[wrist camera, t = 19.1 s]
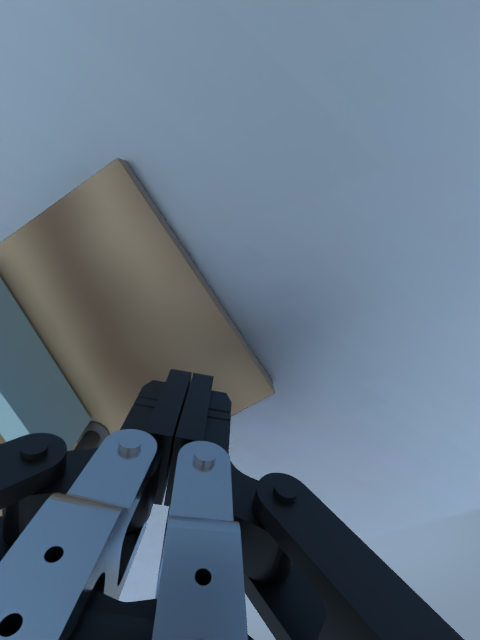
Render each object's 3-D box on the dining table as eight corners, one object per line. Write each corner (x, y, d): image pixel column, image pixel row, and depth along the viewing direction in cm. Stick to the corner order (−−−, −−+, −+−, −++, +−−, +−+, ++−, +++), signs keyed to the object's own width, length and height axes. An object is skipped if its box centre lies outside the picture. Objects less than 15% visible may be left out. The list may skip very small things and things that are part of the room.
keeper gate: (-11, 259, 16) (-82, 276, 13) (91, 419, 19) (56, 471, 15) (-32, 268, 16) (-108, 288, 13) (72, 426, 19) (34, 479, 16)
